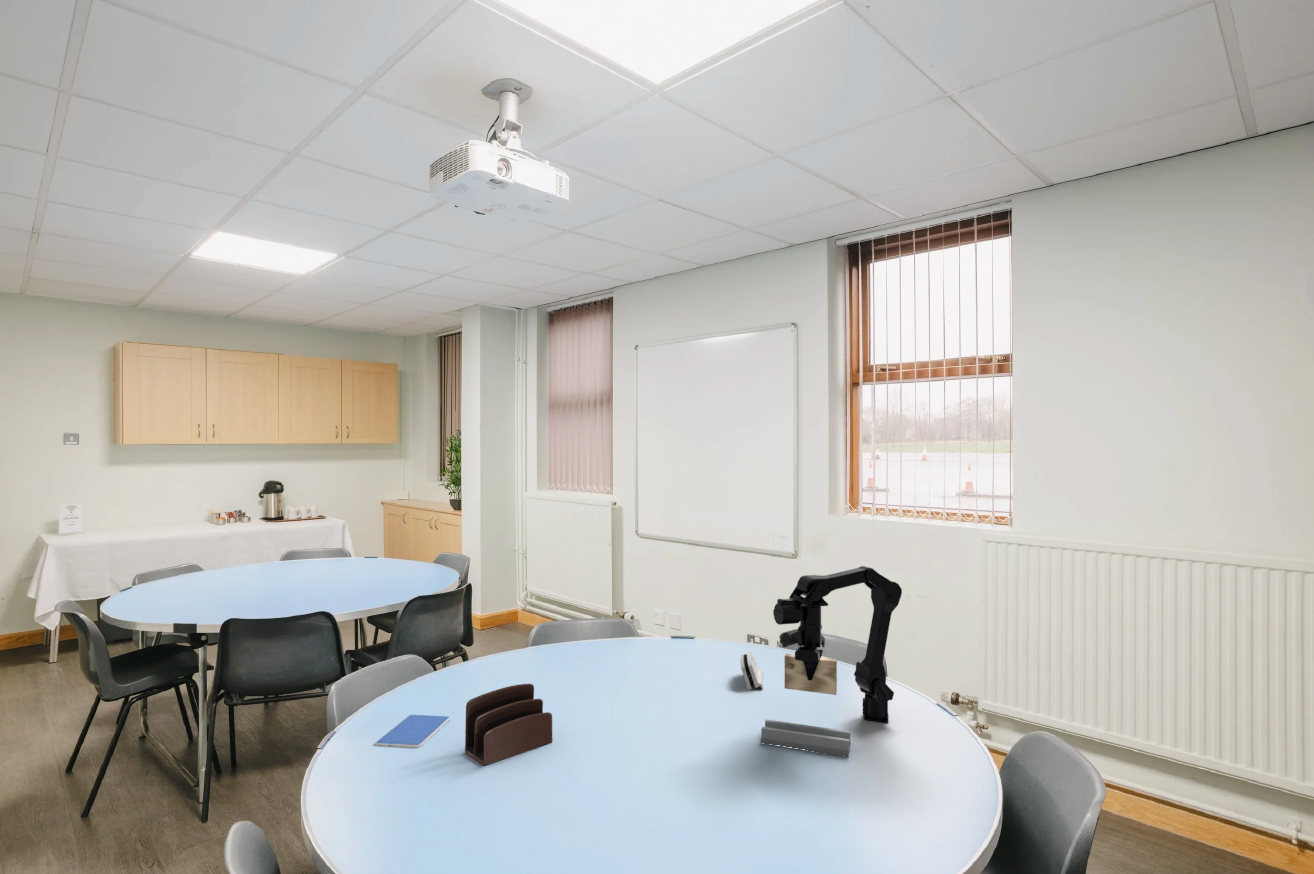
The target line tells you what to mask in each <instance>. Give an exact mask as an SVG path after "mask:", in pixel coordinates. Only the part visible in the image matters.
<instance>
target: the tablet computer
mask: <svg viewBox="0 0 1314 874" xmlns="http://www.w3.org/2000/svg"><path fill="white" fill-rule="evenodd" d="M450 721H451V717H450V716H445V715H424V714H410V715H408V716H406V718H404V719H403V720H402V721H401V722H398V724H397V725H395V726H394V727H393V728H391V729H390V730H389V731H388V732H387V733H385V734H384V735H383V736H382V737H380V738H379V739H378V740H376V741H375V742H374V746H375V747H377V746H378V747H389V748H405V749H407V748H408V749H419V748H421V747H423V746H424V745H425V744H426V743H427V742H428V741H429V740H430V739H431V738H432V737H433V736H434V735H435V734H436V733H437V732H439V731H440V729H442V728H443V727H444V726H445V725H446V724H447V723H449V722H450Z"/></svg>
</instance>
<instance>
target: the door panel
mask: <svg viewBox="0 0 1314 874" xmlns="http://www.w3.org/2000/svg"><path fill="white" fill-rule="evenodd" d="M837 661H838V659H836V658H829V657H821V658H820V661H819V663H818V666H817V668H816V671H815V674H814V676H813V679H812V680H808V678H807V674H806V670H805V666H804V662H803V661H798V660H795V654H794V653H793V654H791V653H785V655H784V689H787V690H794V691H800V692H801V691H803V692H808V693H809V692H810V693H818V694H826V695H834V696H836V695H837V693H838V692H837V691H838V689H837V688H838V683H837V682H838V680H837V679H838V670H837V669H838V663H837Z"/></svg>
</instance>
